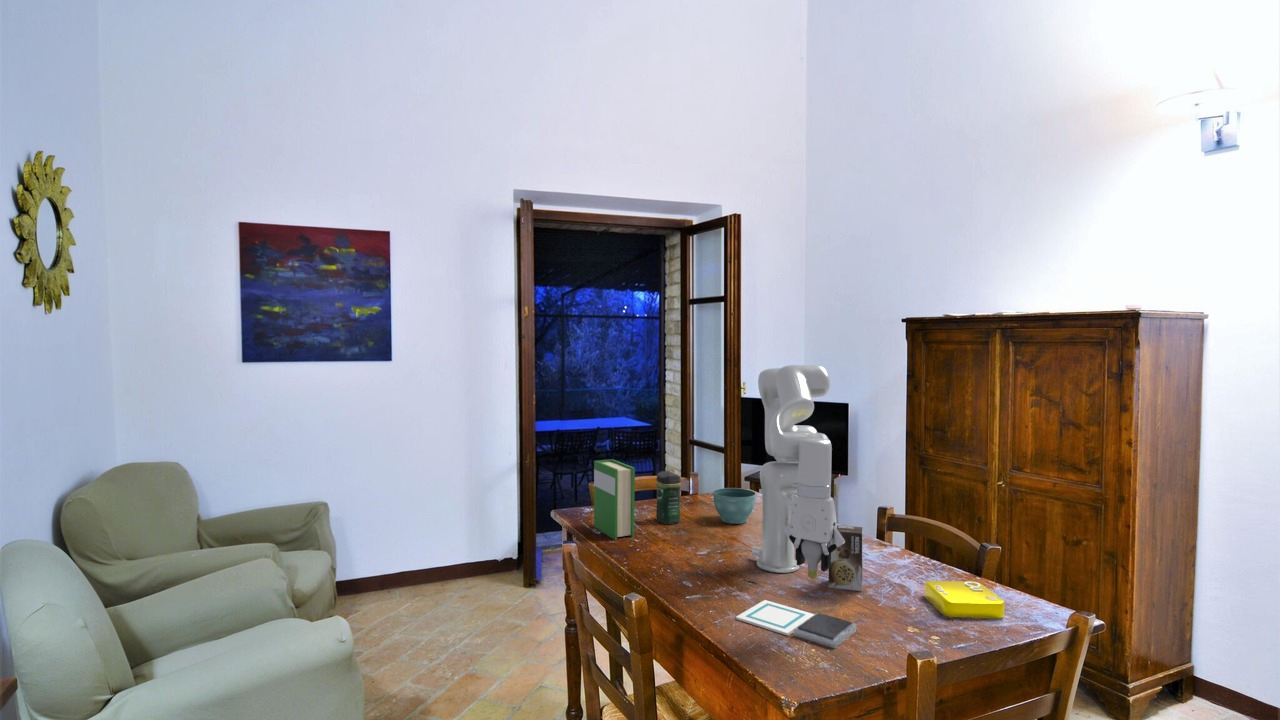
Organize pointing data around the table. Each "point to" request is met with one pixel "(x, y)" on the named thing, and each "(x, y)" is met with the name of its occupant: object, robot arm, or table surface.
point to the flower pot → (734, 504)
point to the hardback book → (614, 498)
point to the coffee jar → (668, 497)
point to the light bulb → (812, 556)
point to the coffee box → (847, 560)
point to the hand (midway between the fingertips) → (812, 566)
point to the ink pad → (825, 630)
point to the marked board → (774, 617)
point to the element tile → (964, 599)
